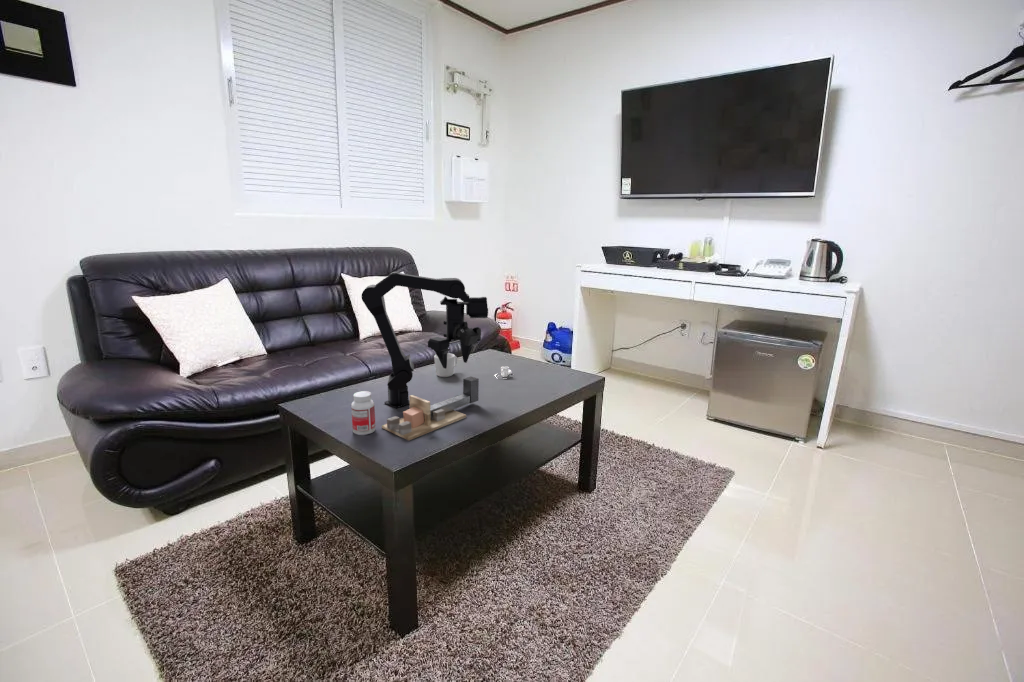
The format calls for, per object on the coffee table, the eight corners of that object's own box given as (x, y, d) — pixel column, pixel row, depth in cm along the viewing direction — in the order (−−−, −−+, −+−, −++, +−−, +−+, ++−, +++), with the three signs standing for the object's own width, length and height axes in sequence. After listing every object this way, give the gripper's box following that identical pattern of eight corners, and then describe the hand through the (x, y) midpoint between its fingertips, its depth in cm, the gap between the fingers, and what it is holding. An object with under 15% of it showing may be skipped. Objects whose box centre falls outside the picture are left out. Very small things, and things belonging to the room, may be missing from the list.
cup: (449, 369, 192) (449, 350, 190) (464, 373, 187) (464, 353, 185) (430, 375, 183) (429, 355, 181) (445, 380, 179) (444, 359, 177)
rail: (381, 428, 136) (380, 401, 134) (439, 407, 152) (439, 383, 150) (408, 440, 128) (408, 413, 126) (466, 417, 145) (466, 392, 143)
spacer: (404, 424, 137) (402, 411, 135) (415, 419, 140) (413, 406, 138) (413, 428, 134) (412, 415, 133) (424, 422, 137) (422, 410, 136)
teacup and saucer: (506, 372, 191) (506, 362, 190) (520, 377, 186) (520, 367, 185) (489, 376, 185) (490, 366, 184) (503, 381, 180) (504, 371, 179)
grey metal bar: (417, 417, 140) (416, 393, 138) (470, 397, 157) (470, 376, 155) (425, 420, 138) (424, 396, 136) (478, 400, 155) (478, 378, 153)
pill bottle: (368, 424, 138) (366, 388, 135) (379, 431, 134) (378, 394, 131) (348, 430, 133) (346, 393, 131) (359, 437, 129) (357, 399, 127)
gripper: (451, 326, 139) (451, 377, 143) (493, 318, 153) (492, 364, 157) (426, 320, 146) (427, 369, 149) (468, 313, 160) (468, 357, 163)
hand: (455, 365), depth 155 cm, fingers open, 9 cm apart
